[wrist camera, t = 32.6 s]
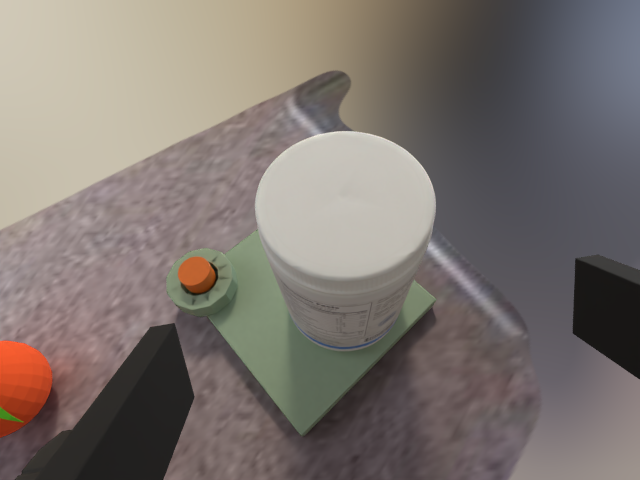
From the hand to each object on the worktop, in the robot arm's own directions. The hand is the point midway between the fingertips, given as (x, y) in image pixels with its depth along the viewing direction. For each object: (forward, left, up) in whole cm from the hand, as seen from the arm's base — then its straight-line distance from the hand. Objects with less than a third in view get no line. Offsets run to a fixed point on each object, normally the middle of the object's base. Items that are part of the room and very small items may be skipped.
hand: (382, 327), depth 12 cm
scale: (-9, +3, -20) cm, 22 cm away
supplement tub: (-7, +5, -18) cm, 20 cm away
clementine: (-18, -19, -20) cm, 33 cm away
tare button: (-16, -3, -17) cm, 23 cm away
